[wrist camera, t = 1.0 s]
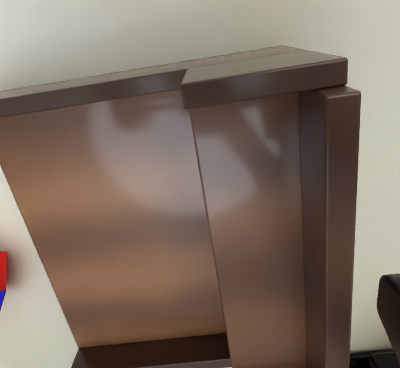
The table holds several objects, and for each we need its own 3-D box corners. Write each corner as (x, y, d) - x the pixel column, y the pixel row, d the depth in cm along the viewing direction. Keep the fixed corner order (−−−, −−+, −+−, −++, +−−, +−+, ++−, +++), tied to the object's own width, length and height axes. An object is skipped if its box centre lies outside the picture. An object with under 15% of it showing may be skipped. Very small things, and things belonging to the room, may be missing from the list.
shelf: (295, 306, 26) (346, 459, 16) (92, 328, 27) (34, 482, 18) (282, 45, 18) (364, 59, 9) (-1, 91, 19) (-187, 146, 10)
